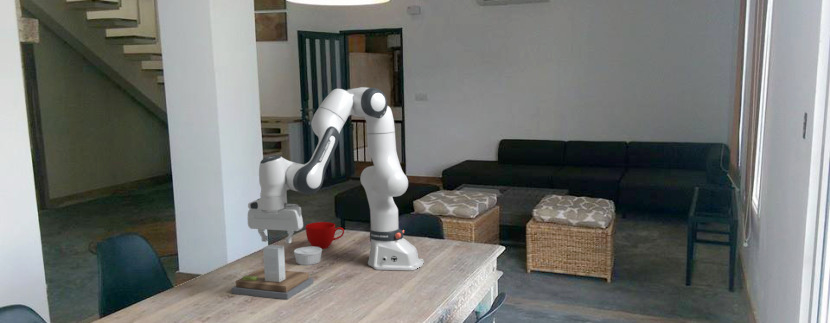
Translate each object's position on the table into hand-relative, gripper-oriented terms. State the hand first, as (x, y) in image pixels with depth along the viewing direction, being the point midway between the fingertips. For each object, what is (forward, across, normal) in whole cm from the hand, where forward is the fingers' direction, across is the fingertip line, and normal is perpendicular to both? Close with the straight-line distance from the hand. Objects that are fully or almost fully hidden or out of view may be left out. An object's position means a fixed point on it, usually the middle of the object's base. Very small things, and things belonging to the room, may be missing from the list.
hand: (276, 241), depth 218 cm
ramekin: (+18, +7, -34) cm, 40 cm away
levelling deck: (+15, +3, -1) cm, 16 cm away
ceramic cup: (+19, +11, -57) cm, 61 cm away
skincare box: (+14, +1, +2) cm, 14 cm away
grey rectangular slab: (+18, +3, -1) cm, 18 cm away
